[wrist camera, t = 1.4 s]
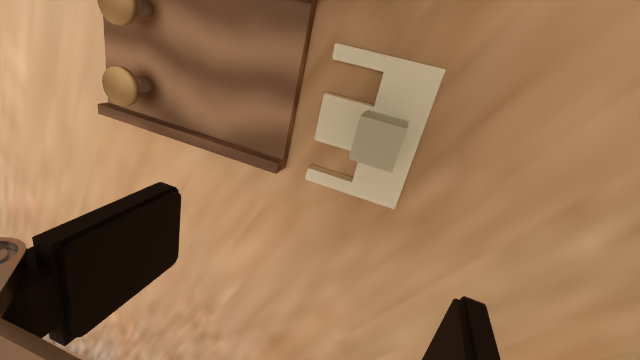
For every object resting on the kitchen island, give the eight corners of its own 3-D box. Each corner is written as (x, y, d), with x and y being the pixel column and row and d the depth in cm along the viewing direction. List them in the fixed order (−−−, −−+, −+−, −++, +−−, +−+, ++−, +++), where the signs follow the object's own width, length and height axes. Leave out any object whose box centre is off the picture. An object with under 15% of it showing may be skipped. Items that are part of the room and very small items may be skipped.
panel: (338, 43, 30) (323, 39, 25) (444, 69, 28) (449, 70, 23) (309, 175, 35) (292, 192, 31) (395, 204, 33) (391, 226, 29)
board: (109, -54, 33) (58, -73, 29) (318, -10, 29) (298, -25, 24) (117, 111, 40) (77, 117, 36) (285, 167, 36) (264, 182, 31)
